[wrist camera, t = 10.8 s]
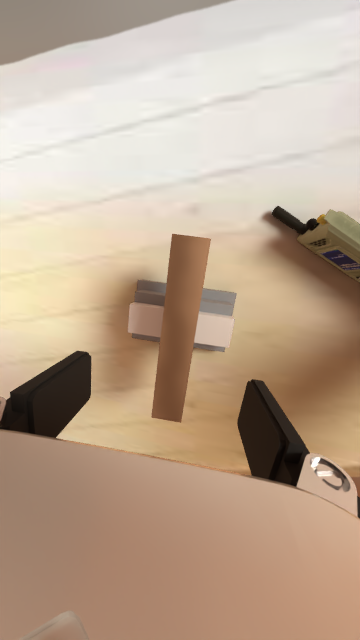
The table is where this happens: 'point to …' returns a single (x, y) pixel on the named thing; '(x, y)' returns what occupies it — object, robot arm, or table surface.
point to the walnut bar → (179, 324)
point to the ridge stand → (211, 319)
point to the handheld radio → (329, 238)
